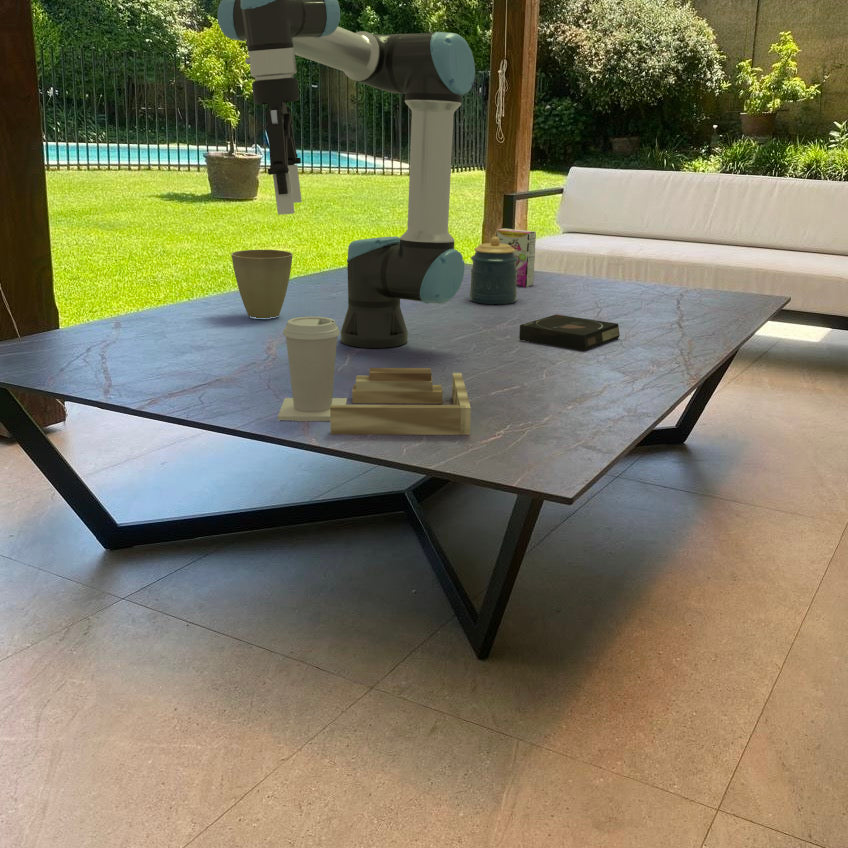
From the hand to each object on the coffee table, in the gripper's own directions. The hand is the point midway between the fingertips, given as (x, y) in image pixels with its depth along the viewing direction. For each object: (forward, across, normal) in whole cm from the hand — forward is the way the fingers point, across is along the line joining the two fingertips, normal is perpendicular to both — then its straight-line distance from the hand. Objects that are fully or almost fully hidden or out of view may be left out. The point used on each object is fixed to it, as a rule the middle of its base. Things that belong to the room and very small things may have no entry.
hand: (290, 208), depth 168 cm
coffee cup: (+32, +12, +1) cm, 35 cm away
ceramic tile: (+33, +12, +1) cm, 35 cm away
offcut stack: (+35, +5, +15) cm, 38 cm away
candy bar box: (+44, -120, +51) cm, 138 cm away
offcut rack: (+34, +15, +16) cm, 40 cm away
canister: (+42, -93, +42) cm, 111 cm away
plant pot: (+35, -68, -18) cm, 79 cm away
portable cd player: (+42, -45, +55) cm, 82 cm away
